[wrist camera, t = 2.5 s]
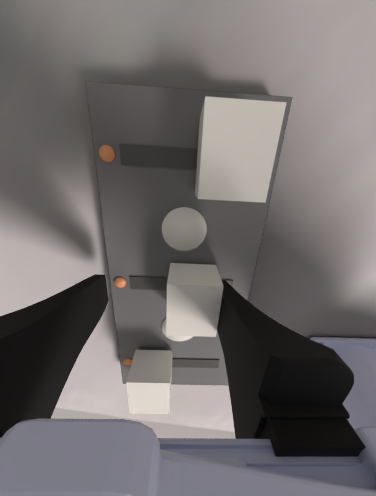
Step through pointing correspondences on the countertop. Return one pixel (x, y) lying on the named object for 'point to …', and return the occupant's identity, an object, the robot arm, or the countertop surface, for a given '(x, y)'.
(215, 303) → the switch
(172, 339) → the switch panel
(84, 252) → the countertop surface
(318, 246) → the countertop surface
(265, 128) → the switch
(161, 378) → the switch
